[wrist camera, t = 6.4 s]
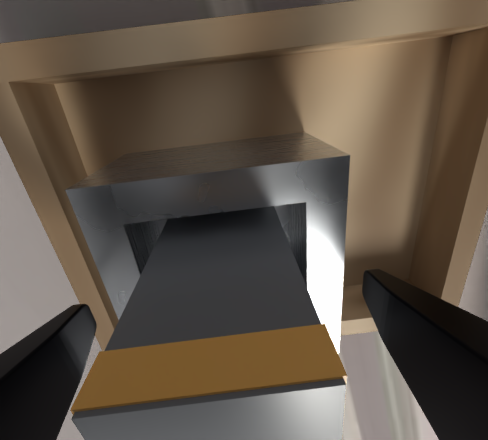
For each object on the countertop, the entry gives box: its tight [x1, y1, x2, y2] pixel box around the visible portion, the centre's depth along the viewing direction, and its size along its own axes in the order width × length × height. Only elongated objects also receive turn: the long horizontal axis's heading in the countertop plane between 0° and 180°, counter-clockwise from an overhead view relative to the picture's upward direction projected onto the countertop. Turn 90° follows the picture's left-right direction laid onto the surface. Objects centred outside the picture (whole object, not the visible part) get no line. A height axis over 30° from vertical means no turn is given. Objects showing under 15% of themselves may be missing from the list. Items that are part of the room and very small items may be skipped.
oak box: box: [0, 0, 488, 351], centre depth 13 cm, size 18×14×4 cm
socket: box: [65, 132, 350, 353], centre depth 12 cm, size 8×8×6 cm
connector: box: [70, 206, 347, 440], centre depth 8 cm, size 4×4×8 cm
